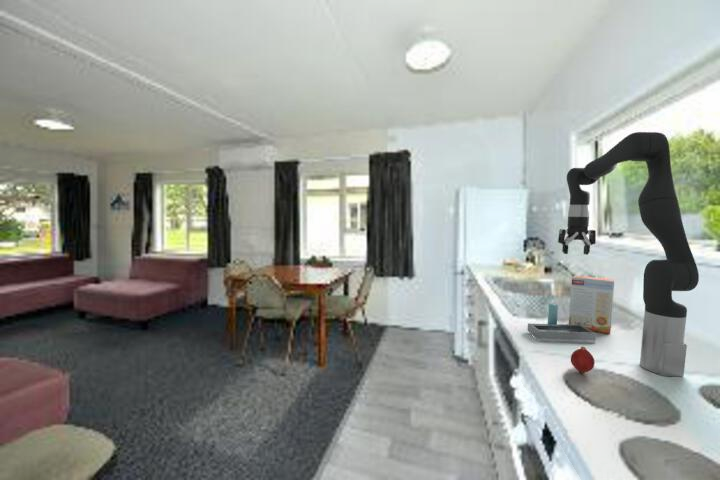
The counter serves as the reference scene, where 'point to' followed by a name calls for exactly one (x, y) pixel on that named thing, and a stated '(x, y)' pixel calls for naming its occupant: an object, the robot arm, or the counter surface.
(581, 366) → the onion
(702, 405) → the counter surface
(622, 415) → the counter surface
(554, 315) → the peg
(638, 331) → the counter surface
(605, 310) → the cracker box
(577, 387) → the counter surface
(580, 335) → the grey rectangular tray
